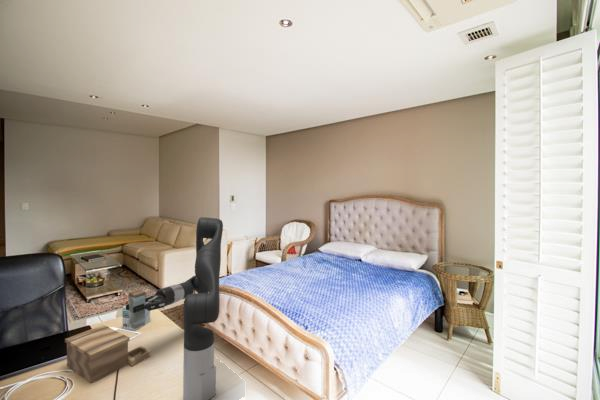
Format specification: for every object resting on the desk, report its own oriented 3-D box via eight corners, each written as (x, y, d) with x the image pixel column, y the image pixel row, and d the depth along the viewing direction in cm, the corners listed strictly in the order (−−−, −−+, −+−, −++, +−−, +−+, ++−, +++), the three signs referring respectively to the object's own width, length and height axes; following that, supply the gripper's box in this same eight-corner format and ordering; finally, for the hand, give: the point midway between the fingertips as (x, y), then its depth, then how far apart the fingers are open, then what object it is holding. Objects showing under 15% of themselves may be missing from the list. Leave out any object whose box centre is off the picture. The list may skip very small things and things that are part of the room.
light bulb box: (133, 331, 128) (134, 308, 128) (121, 329, 129) (121, 307, 129) (150, 321, 139) (150, 299, 138) (139, 319, 140) (139, 298, 140)
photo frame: (110, 326, 131) (141, 332, 126) (110, 328, 131) (141, 334, 126) (78, 342, 117) (111, 350, 112) (78, 345, 117) (111, 352, 112)
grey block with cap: (145, 324, 108) (145, 291, 108) (134, 329, 105) (134, 294, 104) (139, 322, 110) (139, 289, 110) (128, 326, 107) (128, 292, 106)
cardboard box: (150, 356, 109) (150, 331, 109) (93, 386, 92) (93, 356, 92) (121, 341, 120) (121, 318, 119) (64, 366, 102) (64, 338, 102)
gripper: (160, 283, 123) (119, 295, 108) (181, 289, 116) (140, 303, 101) (159, 300, 123) (119, 314, 108) (180, 307, 116) (140, 323, 101)
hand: (129, 308), depth 105 cm, fingers closed on grey block with cap, 4 cm apart
